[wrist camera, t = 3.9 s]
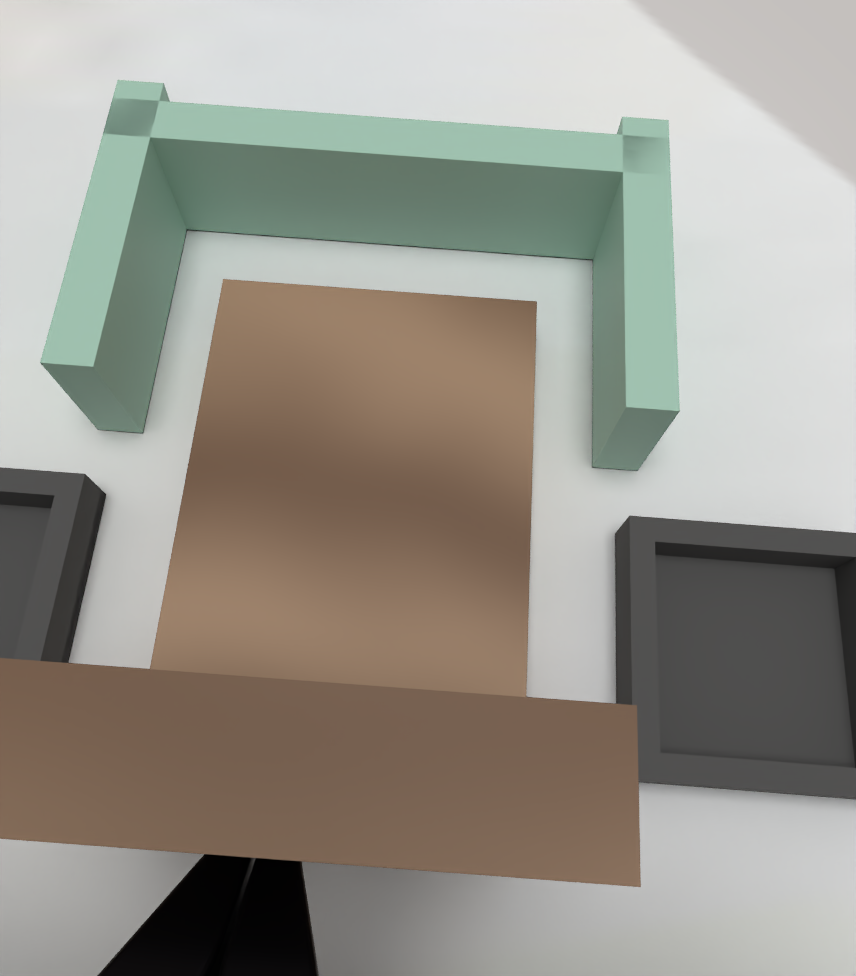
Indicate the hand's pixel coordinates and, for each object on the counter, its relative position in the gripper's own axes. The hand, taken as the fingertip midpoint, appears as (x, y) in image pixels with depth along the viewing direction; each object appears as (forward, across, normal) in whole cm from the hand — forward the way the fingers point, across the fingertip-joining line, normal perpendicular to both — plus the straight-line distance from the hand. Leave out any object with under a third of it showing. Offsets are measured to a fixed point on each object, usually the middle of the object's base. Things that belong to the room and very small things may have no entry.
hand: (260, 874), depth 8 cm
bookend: (+9, 0, +1) cm, 9 cm away
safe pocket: (+13, 0, -3) cm, 14 cm away
